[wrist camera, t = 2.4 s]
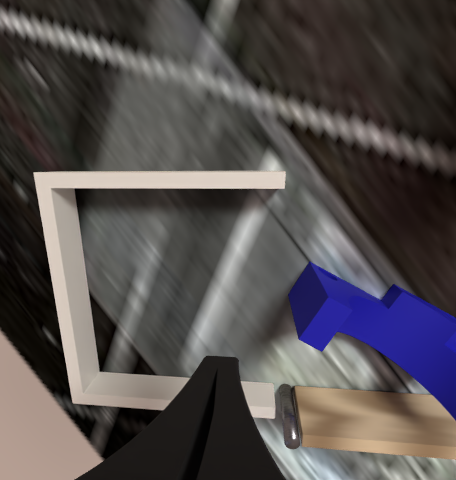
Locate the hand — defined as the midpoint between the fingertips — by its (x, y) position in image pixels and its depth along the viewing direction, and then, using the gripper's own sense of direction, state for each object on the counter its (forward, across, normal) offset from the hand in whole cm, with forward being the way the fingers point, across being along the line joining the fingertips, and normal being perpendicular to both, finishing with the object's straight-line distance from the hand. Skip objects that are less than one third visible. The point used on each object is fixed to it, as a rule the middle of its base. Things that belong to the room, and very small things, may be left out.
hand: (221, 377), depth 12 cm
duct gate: (+10, -13, +10) cm, 19 cm away
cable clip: (+11, -10, +2) cm, 15 cm away
